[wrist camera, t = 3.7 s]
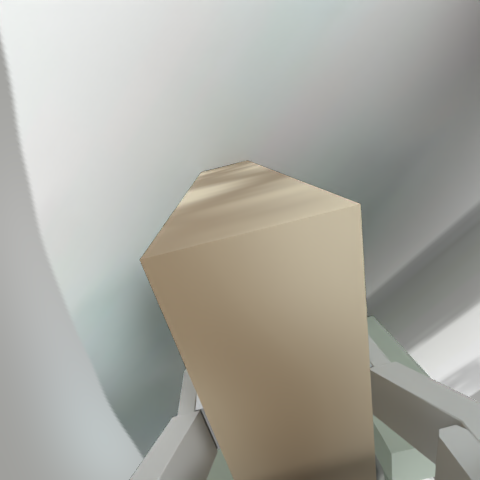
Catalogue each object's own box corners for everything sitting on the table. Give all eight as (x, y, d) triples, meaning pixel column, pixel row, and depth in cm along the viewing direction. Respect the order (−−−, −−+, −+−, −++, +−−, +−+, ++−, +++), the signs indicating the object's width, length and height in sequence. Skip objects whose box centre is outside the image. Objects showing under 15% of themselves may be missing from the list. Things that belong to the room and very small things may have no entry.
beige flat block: (247, 160, 15) (360, 204, 3) (280, 313, 20) (381, 579, 8) (201, 172, 15) (139, 259, 3) (244, 322, 20) (286, 604, 8)
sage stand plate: (372, 315, 21) (480, 431, 12) (374, 342, 22) (473, 466, 13) (210, 356, 21) (205, 500, 12) (219, 381, 22) (220, 529, 13)
